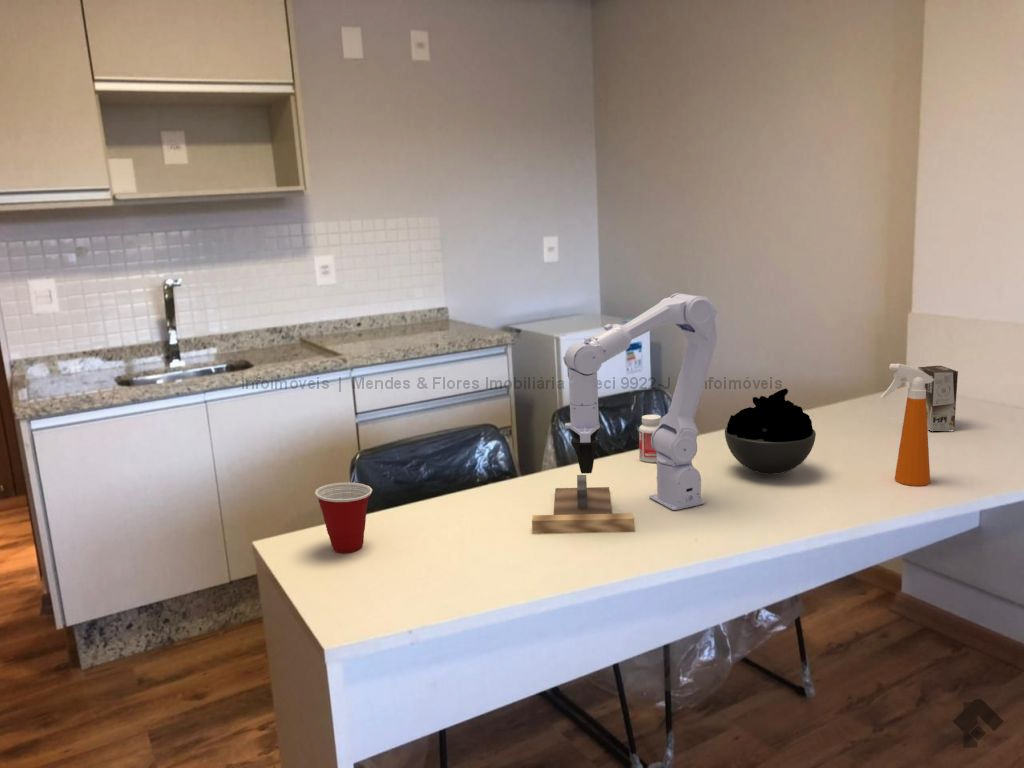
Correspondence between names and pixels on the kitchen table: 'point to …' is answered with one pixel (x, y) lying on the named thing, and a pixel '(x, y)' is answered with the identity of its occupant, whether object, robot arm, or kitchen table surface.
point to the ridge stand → (582, 499)
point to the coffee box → (940, 397)
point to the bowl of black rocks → (770, 435)
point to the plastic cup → (344, 514)
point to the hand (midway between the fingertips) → (586, 467)
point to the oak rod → (583, 523)
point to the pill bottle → (648, 437)
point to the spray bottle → (912, 427)
